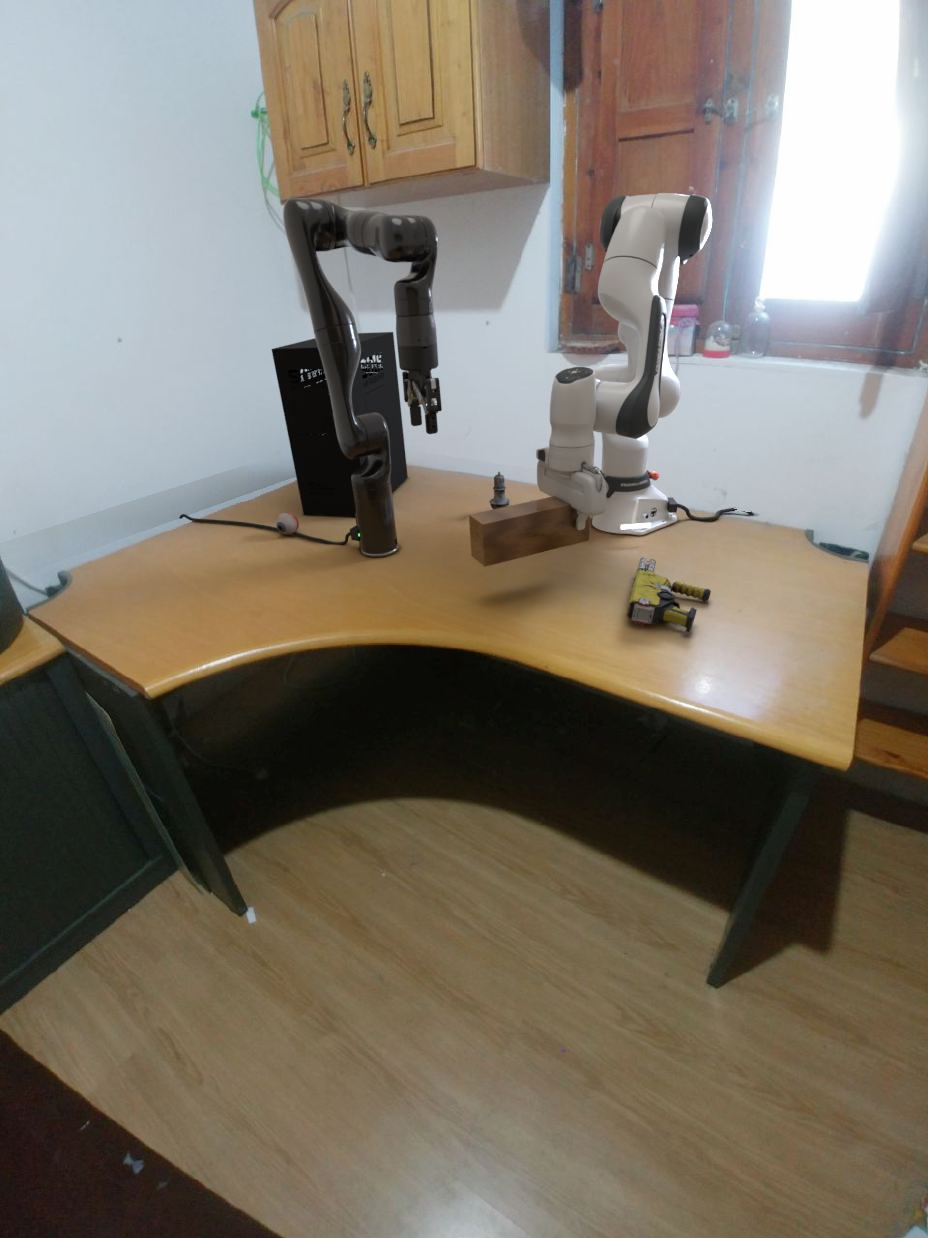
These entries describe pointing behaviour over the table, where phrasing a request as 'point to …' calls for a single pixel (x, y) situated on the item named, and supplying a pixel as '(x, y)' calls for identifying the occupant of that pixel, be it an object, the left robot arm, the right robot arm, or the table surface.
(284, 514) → the eyeball
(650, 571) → the toy gun
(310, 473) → the cardboard box
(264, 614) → the table surface
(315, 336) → the left robot arm
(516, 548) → the box
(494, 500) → the grey chess piece
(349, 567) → the table surface
